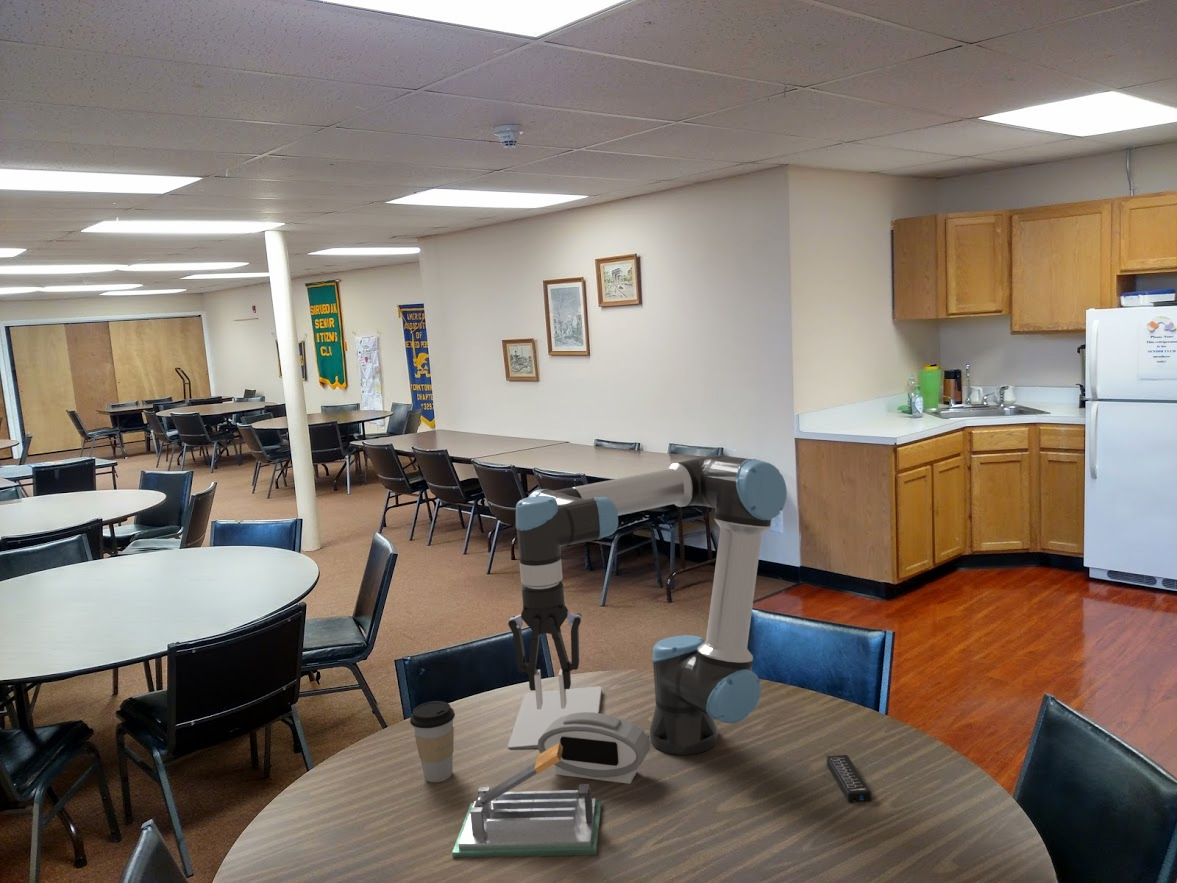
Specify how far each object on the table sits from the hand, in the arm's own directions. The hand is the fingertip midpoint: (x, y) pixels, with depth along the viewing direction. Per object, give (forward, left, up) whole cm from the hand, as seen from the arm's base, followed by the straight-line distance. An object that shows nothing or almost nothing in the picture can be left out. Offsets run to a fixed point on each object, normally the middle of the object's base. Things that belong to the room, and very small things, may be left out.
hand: (551, 705), depth 159 cm
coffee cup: (+29, -21, -25) cm, 44 cm away
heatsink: (+6, 0, -25) cm, 25 cm away
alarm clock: (-5, -20, -25) cm, 32 cm away
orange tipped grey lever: (+7, 0, -15) cm, 16 cm away
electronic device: (+6, -46, -25) cm, 53 cm away
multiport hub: (-56, -14, -25) cm, 63 cm away
